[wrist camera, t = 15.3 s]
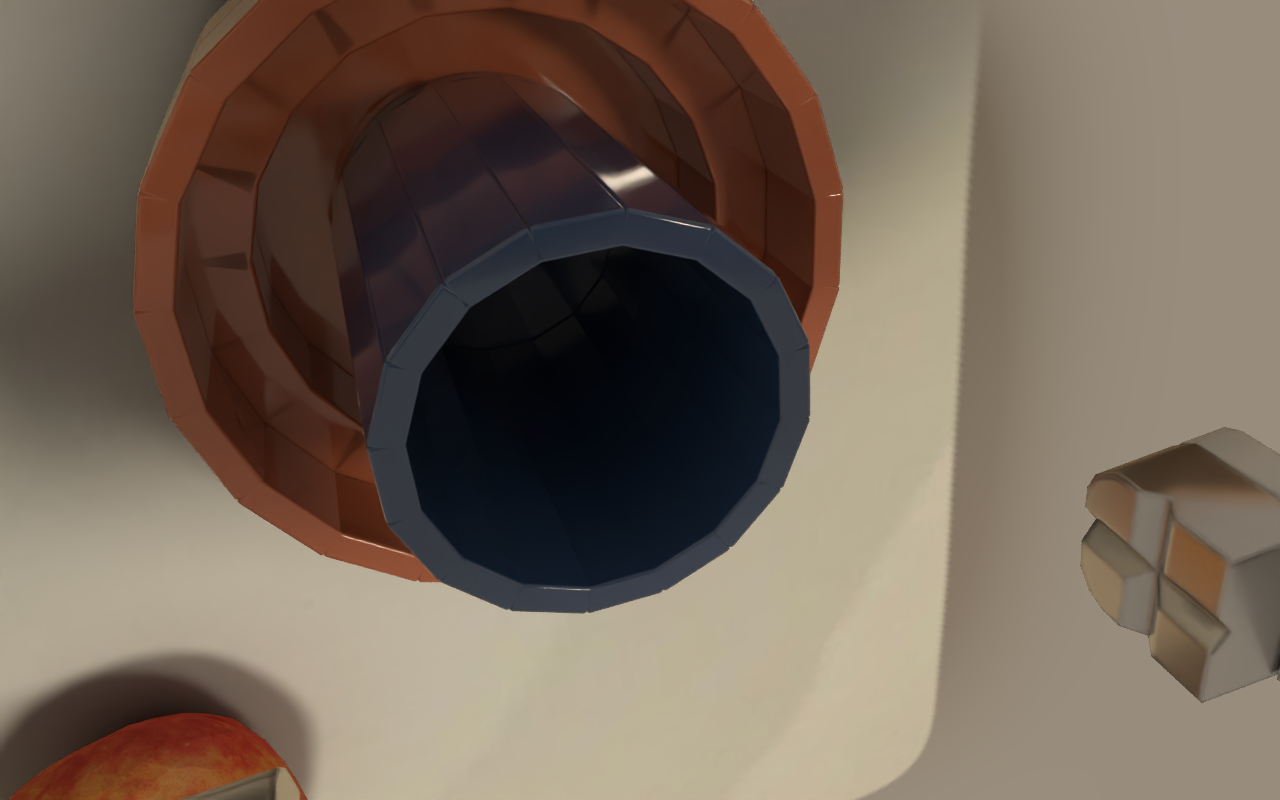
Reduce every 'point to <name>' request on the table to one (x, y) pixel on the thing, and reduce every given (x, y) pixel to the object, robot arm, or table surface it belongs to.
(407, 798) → the table surface
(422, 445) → the cup
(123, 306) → the table surface
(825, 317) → the terracotta bowl
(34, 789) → the fruit
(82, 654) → the table surface
